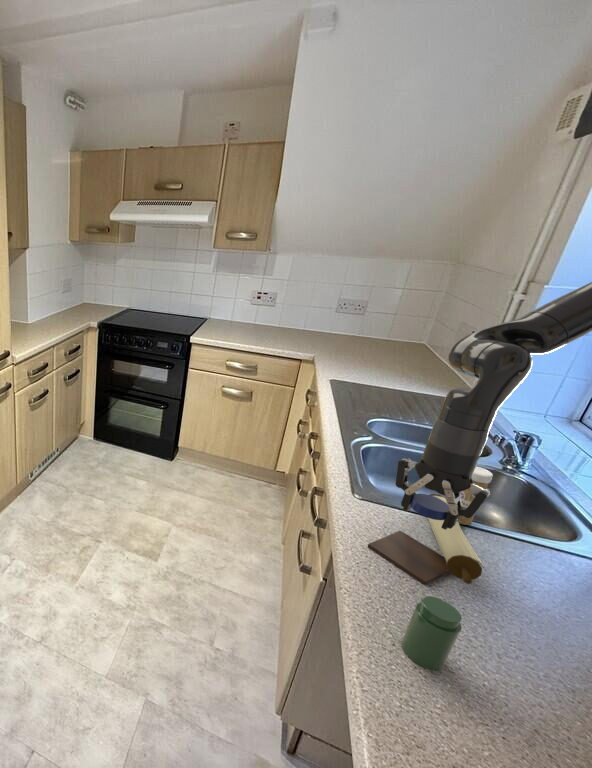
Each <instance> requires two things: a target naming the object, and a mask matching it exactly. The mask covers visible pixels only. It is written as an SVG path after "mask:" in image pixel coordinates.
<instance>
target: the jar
mask: <svg viewBox="0 0 592 768" xmlns="http://www.w3.org/2000/svg"><path fill="white" fill-rule="evenodd" d="M462 619H463V618H462V614H461V613H460V611H459V610H458V609H457V608H456V607H455V606H454V605H452V604H451V603H449V602H448V601H446V600H444V599H443V598H440V597H436V596H431V595H430V596H429V595H428V596H425V597H423V598H422V599H421V600H420V602H418V603H417V604H416V605H415V608H414V610H413V612H412V615H411V617H410V619H409V623H408V624H407V627H406V629H405V632H404V634H403V636H402V639H401V642H400V646H401V649H402V651H403V652H404V654H405V655H406V656H407V657H408V658H409V659H410V660H411V661H413V662H414V663H415V664H416V665H418V666H420V667H422V668H425V669H427V670H431V671H439V670H442V669H443V668H444V667H445V664H446V662H447V660H448V658H449V655H450V653H451V652H452V649H453V647H454V646H455V643H456V641H457V639H458V637H459V634H460V633H461V631H462V624H461V622H462Z"/></svg>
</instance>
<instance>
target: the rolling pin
mask: <svg viewBox="0 0 592 768" xmlns="http://www.w3.org/2000/svg"><path fill="white" fill-rule="evenodd" d="M429 495H431V496H434V497H436V498H439V499H441V500H443V501H444V502H446V497H445V496H444V495H442V494H439V493H438V494H437V493H430V494H429ZM446 503H447V502H446ZM447 504H448V503H447ZM427 520H428V522H429V525H430V527H431V530H432V532H433V534H434V535H433V536H434V537H435V539H436V542H437V544H438V546H439V549H440V551H441V553H442V556H444V557H445V559H446V562H447V568H448V570H449V573H450V574H451V575H453V576H454V577H455V578H457V579H462V581H463V583H465V584H466V585H471V584H472V583H473V580H476V579H478V578H479V577H480V576H481V575H482V571H483V568H485V565H484V564H483V562H482V561H481V559H480V558H479V556H478V555H477V552H476V551H475V550H474V548H473V546H472V545H471V544H470V541H469V540H468V538H467V537H466V535H465V533H464V532H463V530H462V528H461V524H459V523H458V521H457V522H456V524H455V525H454V526H453V527H452V528H451V529H449V528H447V529H446V530H445V529H443V528H441V527H442V524H443V522H444V520H434V519H430V518H427ZM482 567H483V568H482Z"/></svg>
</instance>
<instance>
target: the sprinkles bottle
mask: <svg viewBox="0 0 592 768" xmlns="http://www.w3.org/2000/svg"><path fill="white" fill-rule="evenodd" d="M493 477H494V475H493V473H492V472H491V471H490V470H488V469H486V468H483V467H480V466H478V465H476V467H475V470H474V472H473V474H472V482H473V484H475V485H476V486H478V487H480V488H482V489H484V488H487V489H488V486H489V484H490V483H491V482H492V480H493ZM460 493H461V503H462V507H468V506H469V505H470V503H471V502H472V501H473V499H474V498H472V497H471V491H470V490H469V489H467V490H464V491H461V492H460ZM475 516H476V513H475V514H474V515H473V516H472V517H471V518H466V517H464V516H459V517H458V520H457V521H458V523H459V525H465V526H470V525H471V524H473V520H474V517H475ZM471 522H472V523H471Z"/></svg>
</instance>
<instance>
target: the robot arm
mask: <svg viewBox="0 0 592 768" xmlns="http://www.w3.org/2000/svg"><path fill="white" fill-rule="evenodd" d="M591 332H592V281H590V282H589V283H586V284H585V285H582V286H580V287H578V288H576V289H574V290H572V291H569V292H568V293H565V294H563V295H560V296H559V297H557V298H555V299H553V300H551V301H549V302H547V303H545V304H543V305H541V306H539V307H538V308H535V309H533V310H532V311H530V312H528V313H525V315H522V316H521V317H519V318H516V319H513V320H508V321H505V322H501V323H498V324H496V325H492V326H489V327H485V328H482V329H479V330H476V331H473V332H471V333H469V334H467V335H465V336H463V337H462V338H460V339H459V340H458V341H457V342H455V343H454V345H452V347H451V349H450V350H449V352H448V358H447V360H448V363H449V365H450V367H451V368H452V369H454V370H456V371H457V372H459V373H462V374H464V375H467V376H470V377H473V378H475V379H477V380H478V382H477V383H476V384H475V385H474V386H473V387H464V386H463V387H459V386H458V387H454V388H451V389H450V390H449V391H448V392H447V394H446V395H445V398H444V401H443V403H442V406H441V408H440V412H439V415H438V417H437V419H436V420H435V422H434V424H433V426H432V428H431V430H430V434H429V436H428V439H427V442H426V445H425V446H424V447H425V448H424V450H423V452H422V455H421V458H420V460H419V461H414V460H411V459H410V458H409V457H408V456H405V457H403V458H402V459H400V460H399V461H398V462H397V468H396V469H397V470H396V477H395V487H397V488H399V489H401V490H402V491H403V492H404V493H403V496H402V500H401V502H400V506H401V507H403V508H402V511H404V512H409V511H410V510H411V509H412V508H411V506H410V503H411V500H412V498H413V496H414V495H415V494H418V493H416V492H417V491H419V490H421V488H423V487H424V488H425V489H428V490H431V491H435V492H437V493H438V495H441V496H443V497H445V498H446V502H447V503H448V505H449V510H450V511H449V512H448V513H447V515H446V517H445V520H444V522H443V524H442V527H441V528H443V529H445V530H446V529H447V528H449V529H451V528H452V527H453V526H454V525H455V524H456V522H457V519H458V517H459V516H464V517H466V518H471V517H472V516H473V515H474V514H475V515H476V513H477V512H478V510H479V509H481V507H482V505H483V504H484V503H485V501H486V500H487V499H488V498H489V496H490V495H491V494H492V491H491V489H489V488H488V487H487V488H484V489H482V488H480V487H478V486H476V485H475V484H473V482H472V474H473V472H474V470H475V467H476V466H478V465H477V464H478V463H479V460H480V458H481V455H482V453H483V452H484V451H485V448H486V444H487V441H488V436H489V432H490V429H491V427H492V425H493V422H494V420H495V417H496V415H497V412H498V410H499V408H500V407H501V406H502V405H503V404H504V402H505V401H506V400H507V399H508V398H509V397H510V396H511V395H512V393H513V392H514V391H515V390H516V389H517V388H518V387H519V386H520V384H522V383H523V382H524V380H525V379H526V378H527V377H528V375H529V373H530V372H531V369H532V367H533V358H532V357H533V356H532V355H544V354H549V353H552V352H554V351H557V350H558V349H560V348H562V347H564V346H566V345H568V344H570V343H573V342H574V341H576V340H578V339H580V338H583V337H584V336H586V335H587V334H590V333H591ZM413 469H415V471H416V473H417V475H418V477H419V479H418V480H417V481H415V482H414V483H413V484H411V483H409V476H410V471H412V470H413ZM467 489H469V490H470V491H471V497H472V498H474V499H473V501H472V502H471V503H470V505H469V506H468V507H462V503H461V493H460V492H461V491H464V490H467ZM475 515H474V516H475Z"/></svg>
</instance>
